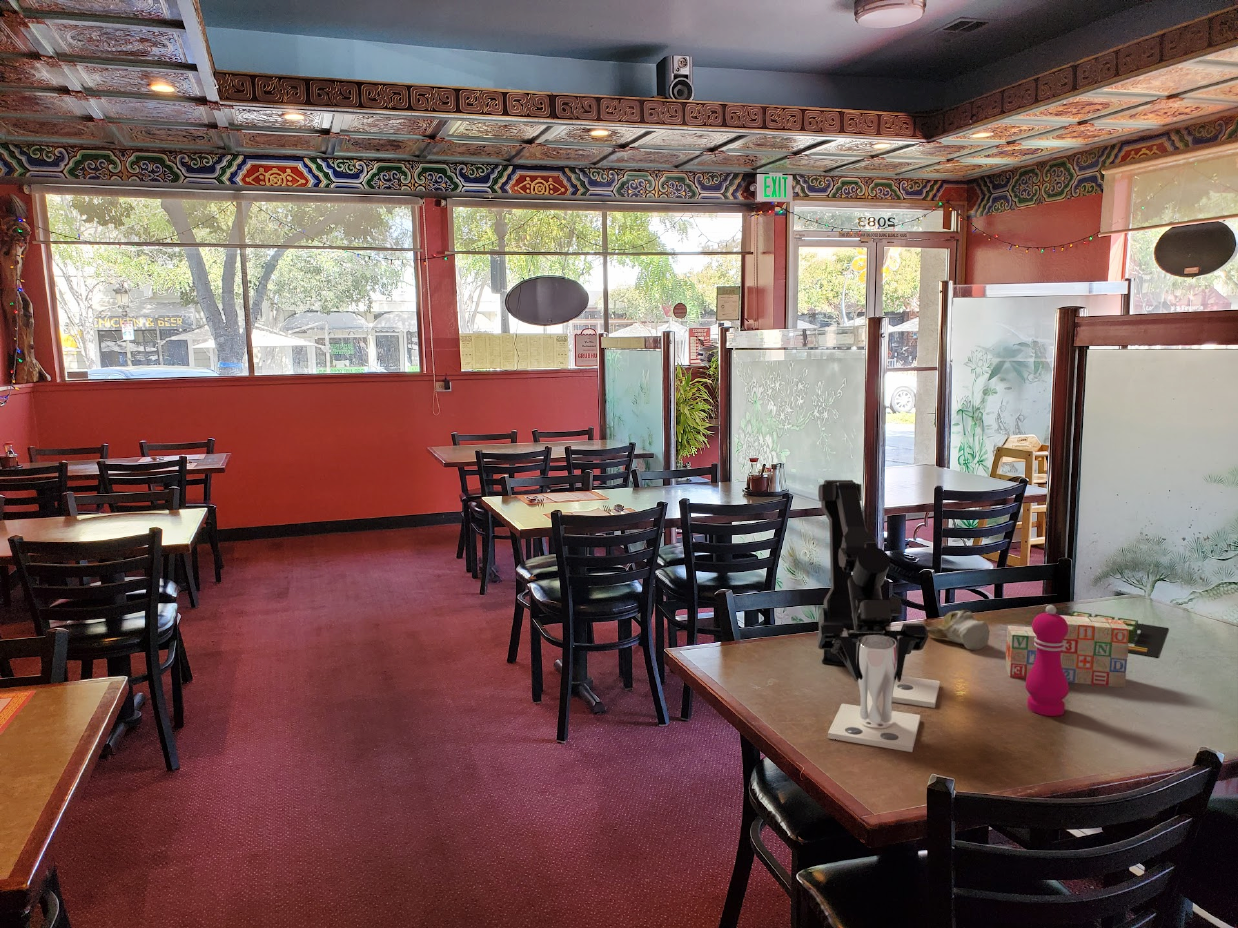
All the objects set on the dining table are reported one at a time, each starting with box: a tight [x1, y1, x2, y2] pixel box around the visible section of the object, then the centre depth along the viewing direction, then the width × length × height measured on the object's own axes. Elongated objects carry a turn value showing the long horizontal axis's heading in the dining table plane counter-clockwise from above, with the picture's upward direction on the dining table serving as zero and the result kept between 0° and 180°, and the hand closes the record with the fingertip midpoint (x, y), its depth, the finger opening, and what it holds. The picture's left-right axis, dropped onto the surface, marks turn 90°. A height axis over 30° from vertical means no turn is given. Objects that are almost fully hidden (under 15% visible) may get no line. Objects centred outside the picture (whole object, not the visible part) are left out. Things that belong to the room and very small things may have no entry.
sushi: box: [1055, 610, 1169, 659], centre depth 210 cm, size 25×25×4 cm
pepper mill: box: [1024, 604, 1070, 717], centre depth 164 cm, size 7×7×20 cm
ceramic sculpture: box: [925, 607, 991, 651], centre depth 203 cm, size 11×9×15 cm
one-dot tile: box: [892, 675, 941, 709], centre depth 175 cm, size 12×12×1 cm
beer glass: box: [856, 634, 897, 729], centre depth 157 cm, size 7×7×15 cm
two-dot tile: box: [827, 703, 921, 753], centre depth 158 cm, size 14×14×1 cm
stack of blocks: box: [1005, 615, 1130, 688], centre depth 181 cm, size 21×6×12 cm, turn 74°
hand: (878, 680), depth 155 cm, fingers open, 7 cm apart
